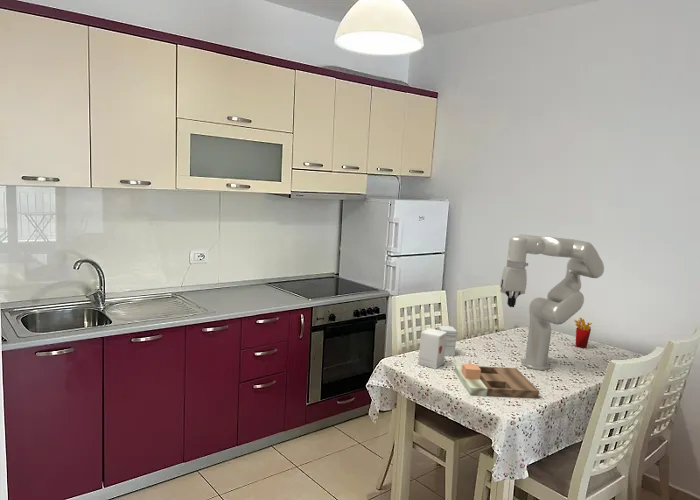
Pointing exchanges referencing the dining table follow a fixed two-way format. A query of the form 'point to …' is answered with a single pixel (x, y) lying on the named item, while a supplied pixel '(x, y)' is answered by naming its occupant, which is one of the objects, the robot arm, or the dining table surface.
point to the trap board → (498, 383)
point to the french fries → (582, 333)
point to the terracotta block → (471, 371)
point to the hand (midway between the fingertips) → (511, 306)
